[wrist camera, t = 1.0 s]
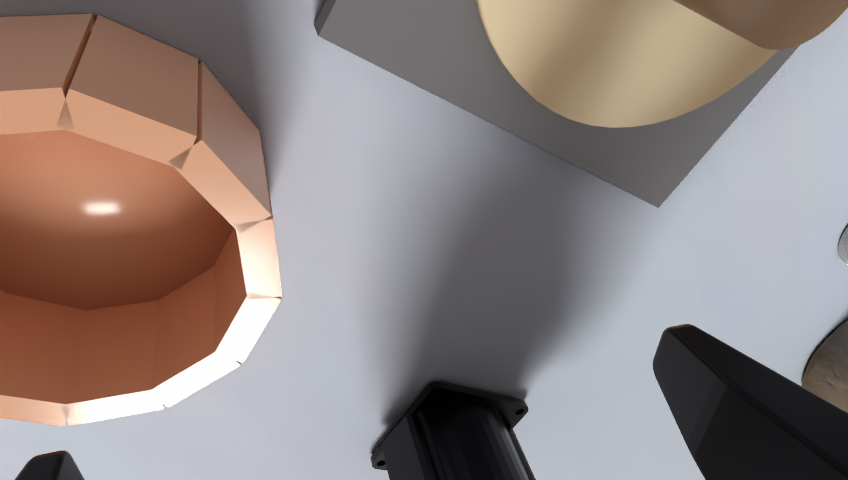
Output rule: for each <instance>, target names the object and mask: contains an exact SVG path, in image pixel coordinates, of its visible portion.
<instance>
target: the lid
mask: <svg viewBox="0 0 848 480" xmlns="http://www.w3.org/2000/svg"><path fill="white" fill-rule="evenodd" d="M475 2H476V7H477V11H478V15H479V18H480V20H481V23H482V26H483V28H484V31H485V34H486V37H487V39H488V41H489V42H490V44H491V46H492V48H493V50H494V52H495V53H496V55H497V57H498V59H499V60H500V61H501V63H502V64H503V65H504V67H505V68H506V69H507V71H508V72H509V73H510V74H511V76H512V77H513V78H514V79H515V80H516V81H517V82H518V83H519V84H520V85H521V86H522V87H523V88H524V89H525V90H526V91H527V92H528V93H529V94H530V95H531V96H532V97H533V98H534V99H535V100H536V101H538V102H539V103H541V104H542V105H544V106H545V107H547V108H548V109H550V110H551V111H553V112H555V113H557V114H559V115H561V116H564V117H566V118H568V119H570V120H573V121H577V122H580V123H584V124H588V125H592V126H601V127H609V128H619V127H636V126H643V125H649V124H654V123H658V122H662V121H665V120H669V119H672V118H675V117H678V116H680V115H683V114H685V113H688V112H690V111H693V110H695V109H697V108H699V107H701V106H703V105H705V104H707V103H709V102H711V101H713V100H715V99H716V98H718V97H720V96H721V95H723V94H724V93H726V92H727V91H729V90H730V89H732V88H734V87H735V86H737V85H738V84H739V83H741V82H742V81H743V80H745V79H746V78H747V77H748V76H750V75H751V74H752V73H754V72H755V71H756V70H757V69H759V68H760V67H761V66H762V65H763V64H764V63H765V62H766V61H767V60H769V59H770V58H771V57H772V56H773V55H774V54H775V53H776V52H777V51H778V50H782V49H788V48H791V47H795V46H797V45H800V44H802V43H805V42H806V41H808V40H810V39H812V38H814V37H815V36H817V35H818V34H820V33H821V32H822V31H824V30H825V29H826V28H828V27H829V26H830V25H831V24H832V23H833V22H834V21H835V20H836V19H837V18H838V17H839V16H840V15H841V14H842V13H843V12H844V11H845V10H846V8H847V7H848V0H475Z"/></svg>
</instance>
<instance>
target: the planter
mask: <svg viewBox="0 0 848 480" xmlns="http://www.w3.org/2000/svg"><path fill="white" fill-rule="evenodd" d="M838 253H839V256H840V258H841V259H842V260H843V261H844V262H845V263H846V264H848V227H847V228H846V230H845V231H844V233H843V235H842V236H841V239H840V241H839V245H838Z"/></svg>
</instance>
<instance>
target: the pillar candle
mask: <svg viewBox="0 0 848 480" xmlns="http://www.w3.org/2000/svg"><path fill="white" fill-rule="evenodd" d="M802 387H803V388H805V389H806V390H808V391H810V392H812V393H814V394H815V395H817V396H819V397H821V398H822V399H824V400H826V401H828V402H829V403H831V404H833V405H835V406H836V407H838V408H840V409H842V410H844V411H845V412H847V413H848V320H847V321H846V322H844V323H843V324H842V325H840V326H839V327H837V329H836V330H835V331H834V332H833V333H832V334H831V335H830V336H829V337H827V338H826V339H825V341H824V343H823V344H821V346H820V347H819V348H818V349H817V350H816V352H815V353H814V354H813V356H812V358H811V359H810V361H809V363H808V366H807V368H806V371H805V373H804V377H803V380H802Z"/></svg>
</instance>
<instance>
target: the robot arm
mask: <svg viewBox="0 0 848 480" xmlns="http://www.w3.org/2000/svg"><path fill="white" fill-rule="evenodd" d="M653 370H654V374H655V377H656V379H657V381H658V383H659V386H660V388H661V390H662V392H663V394H664V396H665V399H666V401H667V403H668V405H669V407H670V410H671V412H672V414H673V416H674V418H675V420H676V423H677V425H678V427H679V429H680V431H681V434H682V436H683V438H684V440H685V442H686V444H687V446H688V448H689V450H690V452H691V454H692V456H693V458H694V460H695V462H696V464H697V466H698V467H699V469H700V471H701V473H702V474H703V476H704V478H705V479H706V480H848V413H847V412H845V411H844V410H842V409H840V408H838V407H836V406H835V405H833V404H831V403H829V402H828V401H826V400H824V399H822V398H821V397H819V396H817V395H815V394H814V393H812V392H810V391H808V390H806V389H805V388H803V387H801V386H799V385H798V384H796V383H794V382H792V381H791V380H789V379H787V378H785V377H784V376H782V375H780V374H778V373H776V372H775V371H773V370H771V369H769V368H768V367H766V366H764V365H762V364H761V363H759V362H757V361H755V360H754V359H752V358H750V357H748V356H747V355H745V354H743V353H741V352H739V351H738V350H736V349H734V348H732V347H731V346H729V345H727V344H725V343H724V342H722V341H720V340H718V339H717V338H715V337H713V336H711V335H709V334H708V333H706V332H704V331H702V330H701V329H699V328H697V327H695V326H693V325H690V324H683V325H678V326H673V327H669V328H667V329H666V330H664V332H663V334H662V336H661V339H660V342H659V345H658V348H657V351H656V354H655V356H654V360H653ZM527 412H528V407H527V405H526V403H525V401H524V400H521V399H516V398H512V397H507V396H503V395H498V394H494V393H489V392H484V391H480V390H475V389H471V388H466V387H462V386H457V385H453V384H448V383H443V382H433V383H431V384H429V385H428V386H427V387H426V388H425V389H424V391H423V392H422V393H421V394H420V396H419V397H418V398H417V399H416V401H415V402H414V403H413V404H412V406H411V407H410V408H409V410H408V411H407V412H406V413H405V415H404V416H403V417H402V418H401V420H400V421H399V422H398V423H397V425H396V426H395V427H394V428H393V430H392V431H391V432H390V433H389V435H388V436H387V437H386V438H385V440H384V441H383V442H382V443H381V445H380V446H379V447H378V449H377V450H376V451H375V452H374V454H373V455H372V456H371V462H372V467H373V468H375V469H381V470H388V474H389V478H390V480H536V479H535V477H534V475H533V473H532V471H531V468H530V466H529V464H528V462H527V460H526V457H525V455H524V453H523V451H522V449H521V446H520V444H519V442H518V440H517V438H516V435H515V433H514V431H513V427H514V426H515V425H516V424H517V423H518V422H519V421H520V420H521V419H522V418H523V417H524V415H525V414H526V413H527ZM15 480H84V478H83V476H82V474H81V473H80V471H79V469H78V467H77V465H76V463H75V462H74V460H73V458H72V456H71V455H70V454H69V453H68V452H67V451H57V452H52V453H47V454H42V455H38V456H35V457H33V458H32V459H31V460H30V461H28V463H27V464H26V465H25V466H24V468H23V469H22V471H21V472H20V473H19V475H18V476H17V477H16V479H15Z"/></svg>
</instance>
